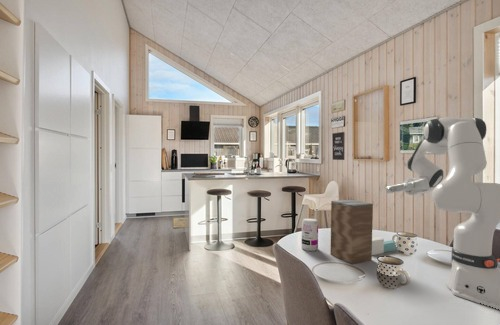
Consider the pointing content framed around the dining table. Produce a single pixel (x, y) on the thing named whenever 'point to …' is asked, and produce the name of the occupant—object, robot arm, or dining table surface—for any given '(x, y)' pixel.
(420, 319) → the dining table surface
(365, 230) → the pedestal
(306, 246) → the supplement can
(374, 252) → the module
